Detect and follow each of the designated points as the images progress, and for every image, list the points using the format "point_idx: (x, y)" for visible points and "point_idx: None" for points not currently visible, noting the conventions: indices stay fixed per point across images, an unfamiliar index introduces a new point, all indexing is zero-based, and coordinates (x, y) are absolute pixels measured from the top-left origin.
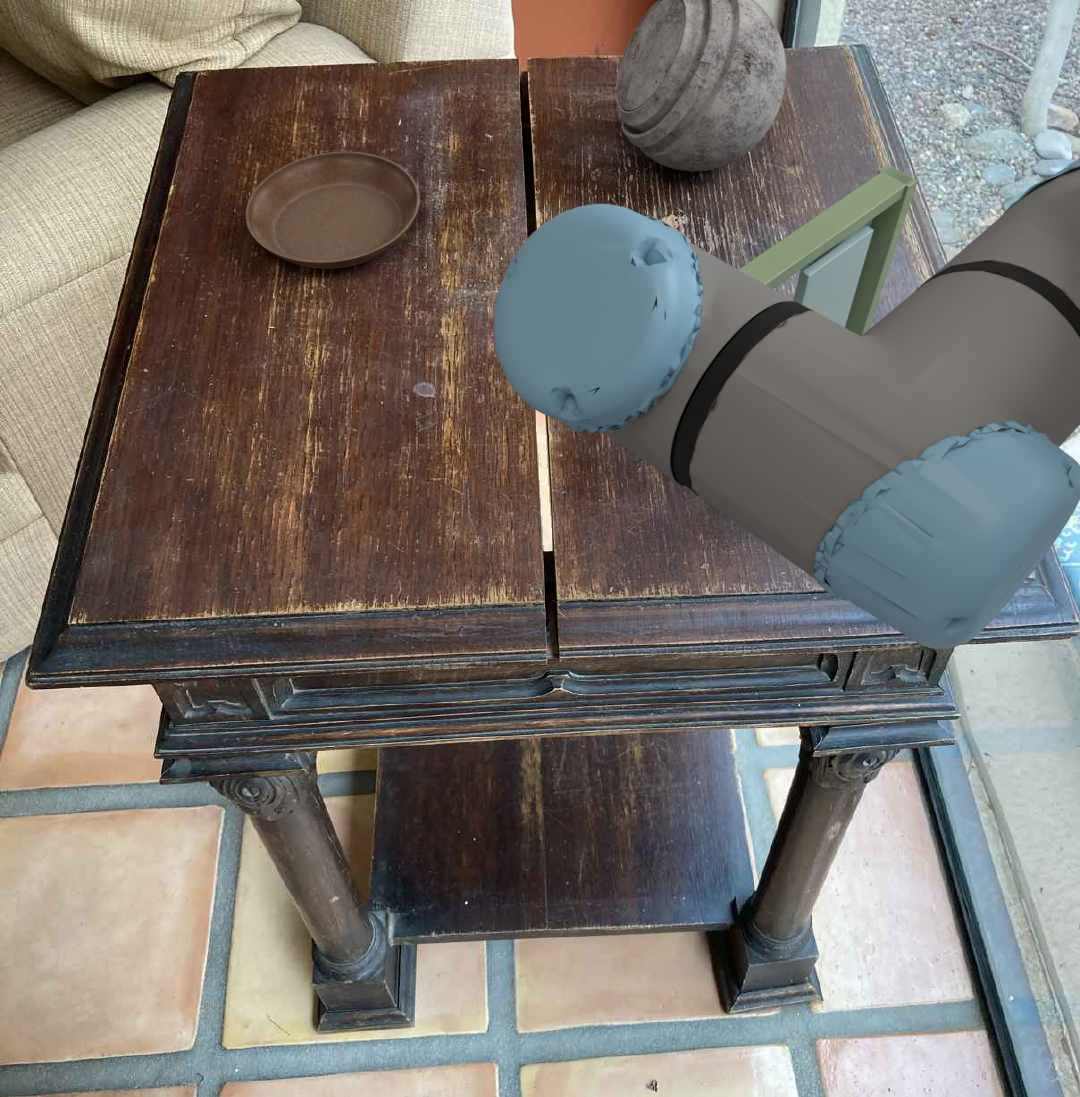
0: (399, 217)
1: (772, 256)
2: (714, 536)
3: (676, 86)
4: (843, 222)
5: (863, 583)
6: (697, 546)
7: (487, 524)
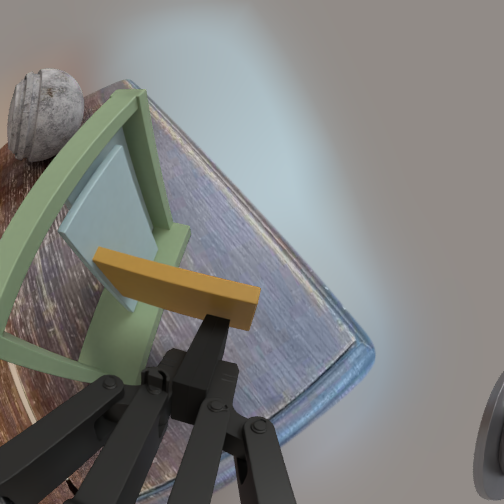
0: None
1: (4, 246)
2: None
3: (18, 123)
4: (75, 156)
5: None
6: None
7: None
